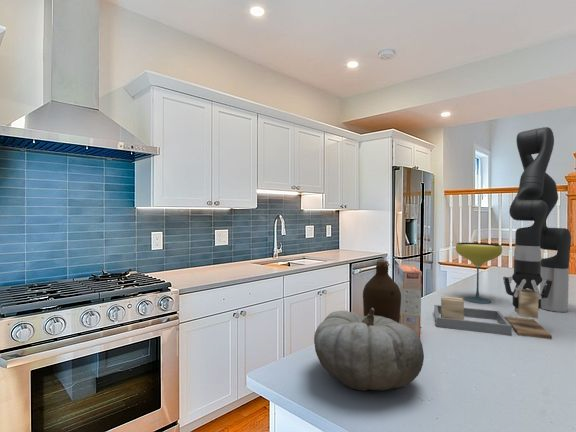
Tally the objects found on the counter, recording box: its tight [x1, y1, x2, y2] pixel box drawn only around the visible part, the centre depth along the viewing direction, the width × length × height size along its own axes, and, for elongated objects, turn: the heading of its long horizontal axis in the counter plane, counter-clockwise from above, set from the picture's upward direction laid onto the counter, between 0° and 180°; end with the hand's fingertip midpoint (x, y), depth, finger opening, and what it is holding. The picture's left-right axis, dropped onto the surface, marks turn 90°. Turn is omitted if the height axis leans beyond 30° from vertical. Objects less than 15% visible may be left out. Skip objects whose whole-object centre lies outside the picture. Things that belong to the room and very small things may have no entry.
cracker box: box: [397, 264, 423, 339], centre depth 114 cm, size 14×6×21 cm, turn 168°
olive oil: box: [362, 259, 401, 323], centre depth 99 cm, size 11×11×25 cm
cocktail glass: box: [455, 242, 503, 304], centre depth 154 cm, size 18×18×25 cm
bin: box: [433, 304, 513, 336], centre depth 123 cm, size 18×22×3 cm
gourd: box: [313, 308, 425, 392], centre depth 81 cm, size 25×25×17 cm
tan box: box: [514, 289, 539, 319], centre depth 117 cm, size 5×7×8 cm
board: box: [504, 315, 553, 340], centre depth 117 cm, size 18×9×1 cm, turn 159°
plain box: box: [440, 296, 465, 320], centre depth 124 cm, size 5×7×8 cm
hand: (526, 308), depth 117 cm, fingers closed on tan box, 5 cm apart
